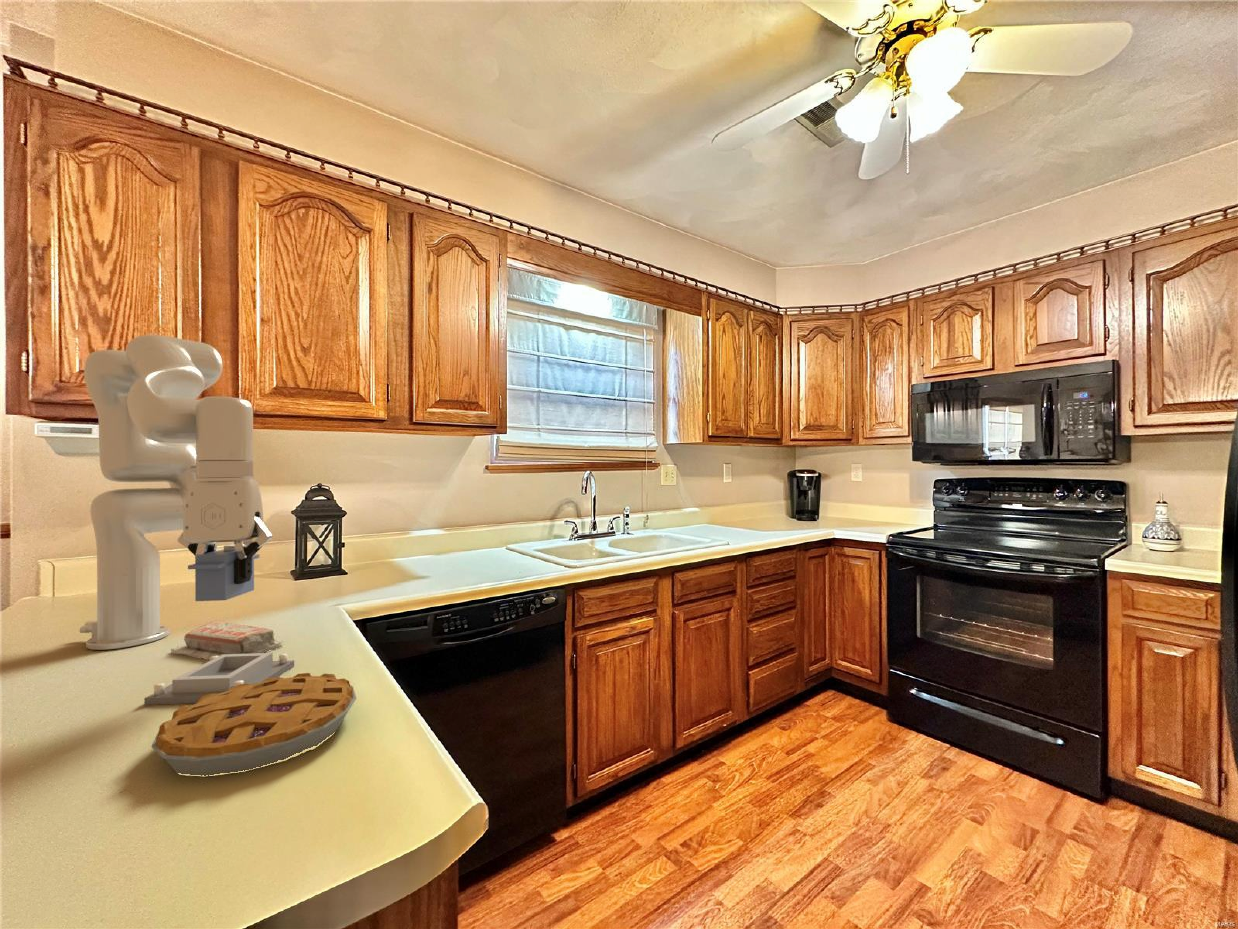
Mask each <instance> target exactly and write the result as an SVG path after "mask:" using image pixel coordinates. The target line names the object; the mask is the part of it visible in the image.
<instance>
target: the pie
mask: <svg viewBox="0 0 1238 929" xmlns="http://www.w3.org/2000/svg"><path fill="white" fill-rule="evenodd" d="M356 695H357V694H356V691H355V689H354V687H353V685H351V684H350V681H349V680H348V679H346V678H345V677H344V678H336V675H335V674H333V673H323V674H321V675H311V674H310V672H304V673H297V674H296V675H294V676H291V677H280V676H279V677H276V678H269V679H266V680H264V681H262V682H260V683H255V684H250V685H249V684H246V683H243V684H240V685H236V686H232V687H231V688H230V689H229V690H228V691H225V692H222V693H219V694H213V693H212V694H208V695H204V696H201V697H199V699H198V701H197V703H193V705H188V704H187V705H185V704H184V705H182V706H180V707H179V708H177V709H176V710H175V711H174V712H173V713H172V717H171V719H169V720H167V721H164V722H162V723H161V724H160V725H159V726H158V728H159V729H158V731H157V734H156V736H155V738H154V740H153V742H152V744H151V745H150V746H151V748H152V749H153V751H155V752H156V753H157V754H158V755H159V756H160V757H161V758H162V759H164V760H165V761H166V762H167V763H168V765H171V766H170V767H171V768H172V769H173V771H174V772H175V771H176V772H177V773H181V774H190V775H201V776H202V775H204V776H206V775H208V776H209V775H214V774H220V773H230V772H238V771H243V770H244V771H245V770H249V769H253V768H256V767H261V766H263V765H267V764H270V763H274V762H277V761H278V760H284V759H286V758H288V757H290V756H292V755H294V754H296V753H300V752H302V751H303V750H305V749H308V748H311V747H313V746H317V745H318V744H319V743H321V742H322V741H323V740H325V739H326V738H327V737H329V736H330V735H332V734H333V733H334V732H336V733H337V731H338V730H337V729H339V728H340V726H341V725H340V724H342V723H343V722H342V721H344V720H345V718H346V716H347V714H348V713H349V711H350V710H351V708H352V707H353V705H354V703H355V702H356V700H357V696H356ZM338 727H339V728H338ZM336 730H337V731H336ZM176 772H175V773H176ZM177 773H176V774H177Z"/></svg>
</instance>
